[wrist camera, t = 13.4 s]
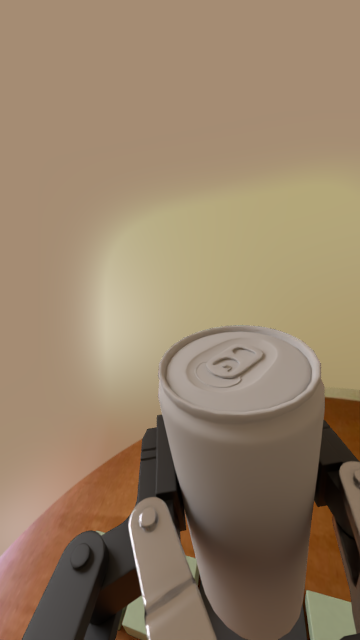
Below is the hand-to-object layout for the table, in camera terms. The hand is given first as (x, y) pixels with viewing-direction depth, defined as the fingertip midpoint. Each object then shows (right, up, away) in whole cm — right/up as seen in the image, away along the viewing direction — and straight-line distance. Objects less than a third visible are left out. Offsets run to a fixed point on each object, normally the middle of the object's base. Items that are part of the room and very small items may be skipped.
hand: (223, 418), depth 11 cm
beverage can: (+1, -7, 0) cm, 8 cm away
